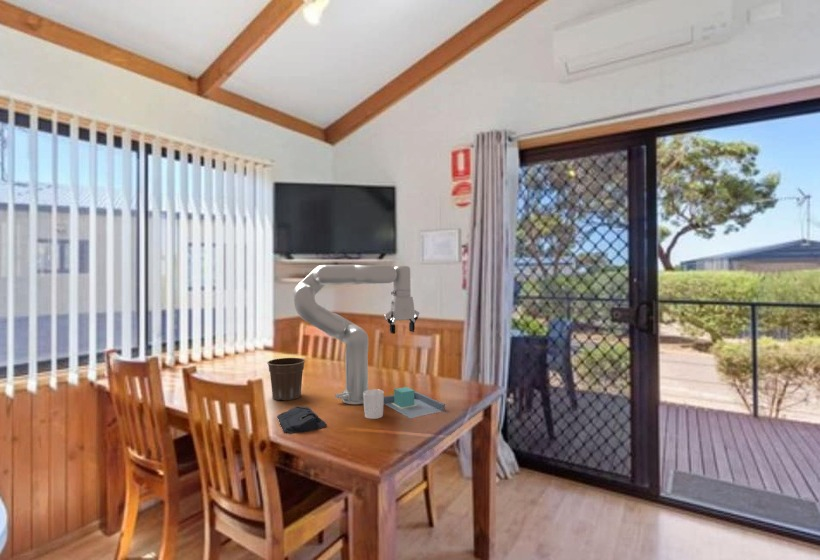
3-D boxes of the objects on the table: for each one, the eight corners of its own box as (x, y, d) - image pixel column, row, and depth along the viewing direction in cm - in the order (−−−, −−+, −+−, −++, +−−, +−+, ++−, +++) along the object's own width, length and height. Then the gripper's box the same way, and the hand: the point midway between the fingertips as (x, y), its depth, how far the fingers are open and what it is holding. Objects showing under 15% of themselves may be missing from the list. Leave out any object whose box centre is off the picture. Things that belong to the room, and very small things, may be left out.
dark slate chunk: (314, 411, 180) (313, 399, 180) (328, 429, 160) (328, 416, 160) (274, 417, 173) (274, 405, 173) (284, 437, 153) (284, 423, 153)
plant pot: (293, 389, 210) (292, 355, 210) (313, 396, 199) (312, 360, 199) (261, 397, 198) (260, 361, 198) (280, 404, 187) (279, 366, 187)
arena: (410, 420, 166) (409, 411, 166) (382, 405, 185) (382, 397, 185) (444, 413, 175) (444, 404, 175) (415, 399, 194) (415, 391, 193)
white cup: (373, 413, 175) (373, 388, 175) (388, 417, 170) (388, 391, 170) (359, 418, 169) (358, 392, 169) (374, 423, 164) (373, 396, 164)
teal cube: (401, 407, 178) (401, 392, 178) (394, 403, 184) (394, 389, 183) (414, 404, 182) (414, 390, 181) (406, 401, 187) (406, 386, 186)
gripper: (388, 295, 189) (389, 335, 190) (423, 293, 198) (423, 331, 199) (380, 294, 196) (381, 333, 196) (414, 292, 205) (414, 329, 205)
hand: (402, 332), depth 198 cm, fingers open, 9 cm apart
